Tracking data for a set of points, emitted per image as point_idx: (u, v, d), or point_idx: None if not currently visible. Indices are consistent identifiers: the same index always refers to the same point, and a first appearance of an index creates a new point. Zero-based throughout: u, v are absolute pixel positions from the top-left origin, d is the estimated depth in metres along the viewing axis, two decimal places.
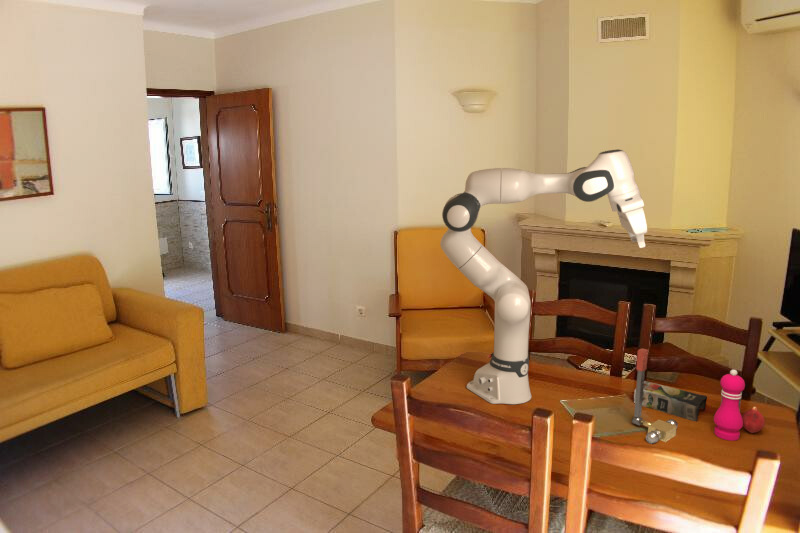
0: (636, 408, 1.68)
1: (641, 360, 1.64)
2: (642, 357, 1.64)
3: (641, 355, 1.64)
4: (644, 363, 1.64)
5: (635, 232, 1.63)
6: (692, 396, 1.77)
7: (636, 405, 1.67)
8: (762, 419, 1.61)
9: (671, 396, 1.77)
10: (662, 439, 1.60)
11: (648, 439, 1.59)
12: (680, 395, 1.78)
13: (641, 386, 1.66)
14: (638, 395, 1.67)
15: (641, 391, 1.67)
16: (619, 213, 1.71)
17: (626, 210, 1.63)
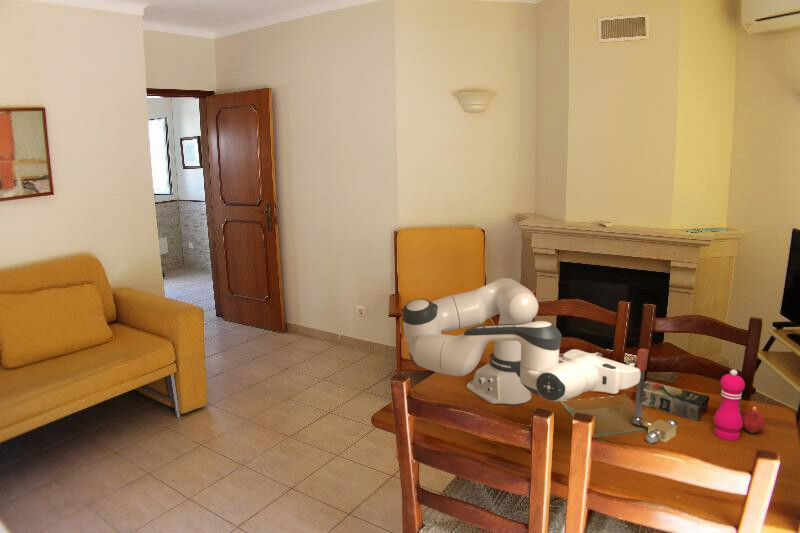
0: (636, 408, 1.68)
1: (641, 360, 1.64)
2: (642, 357, 1.64)
3: (641, 355, 1.64)
4: (644, 363, 1.64)
5: (638, 382, 1.44)
6: (694, 396, 1.77)
7: (636, 405, 1.67)
8: (762, 419, 1.61)
9: (673, 396, 1.77)
10: (662, 439, 1.60)
11: (648, 439, 1.59)
12: (682, 394, 1.78)
13: (641, 386, 1.66)
14: (638, 395, 1.67)
15: (641, 391, 1.67)
16: None
17: (619, 388, 1.41)
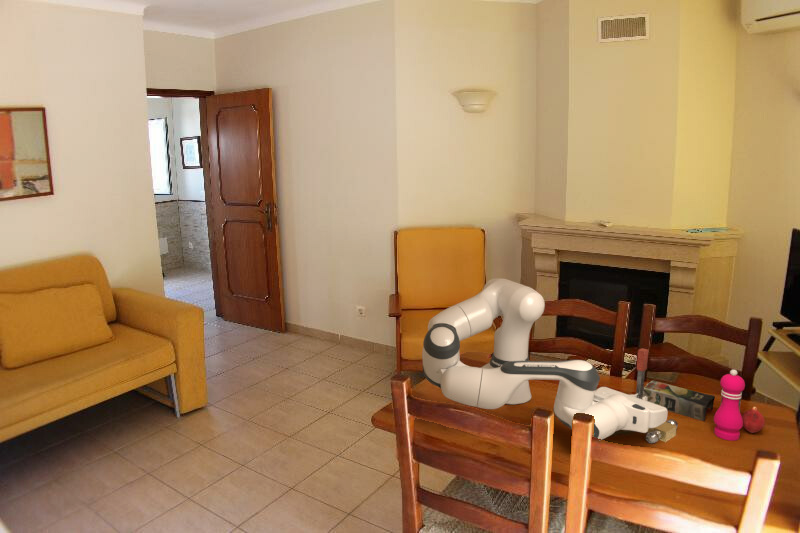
0: None
1: (641, 360, 1.64)
2: (642, 357, 1.64)
3: (641, 355, 1.64)
4: (644, 363, 1.64)
5: None
6: (700, 395, 1.77)
7: None
8: (762, 419, 1.61)
9: (678, 396, 1.77)
10: (662, 439, 1.60)
11: (648, 439, 1.59)
12: (688, 394, 1.78)
13: (641, 386, 1.66)
14: None
15: (641, 391, 1.67)
16: None
17: (648, 427, 1.52)
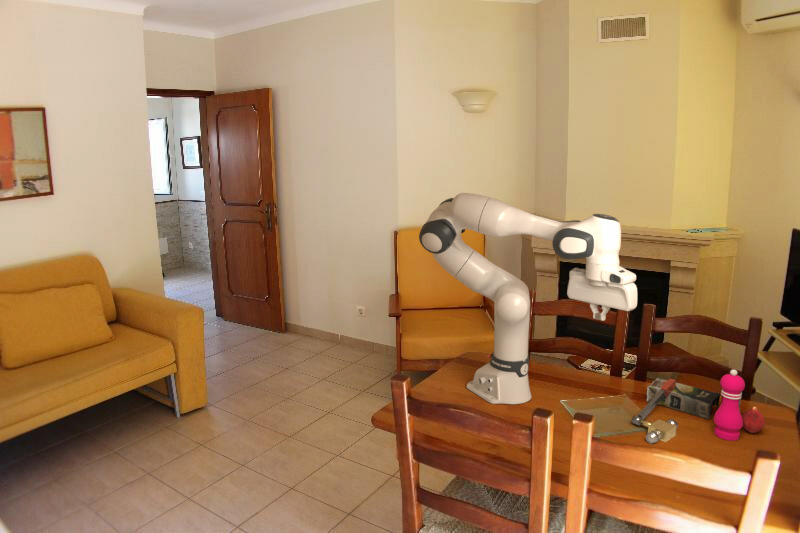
0: (643, 410, 1.71)
1: (669, 384, 1.79)
2: (672, 382, 1.79)
3: (671, 381, 1.79)
4: (670, 388, 1.78)
5: (631, 307, 1.53)
6: (705, 393, 1.77)
7: (645, 408, 1.71)
8: (762, 419, 1.61)
9: (684, 393, 1.78)
10: (662, 439, 1.60)
11: (648, 439, 1.59)
12: (693, 392, 1.79)
13: (657, 400, 1.74)
14: (651, 403, 1.73)
15: (655, 403, 1.74)
16: (599, 283, 1.58)
17: (626, 282, 1.53)
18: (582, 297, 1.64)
